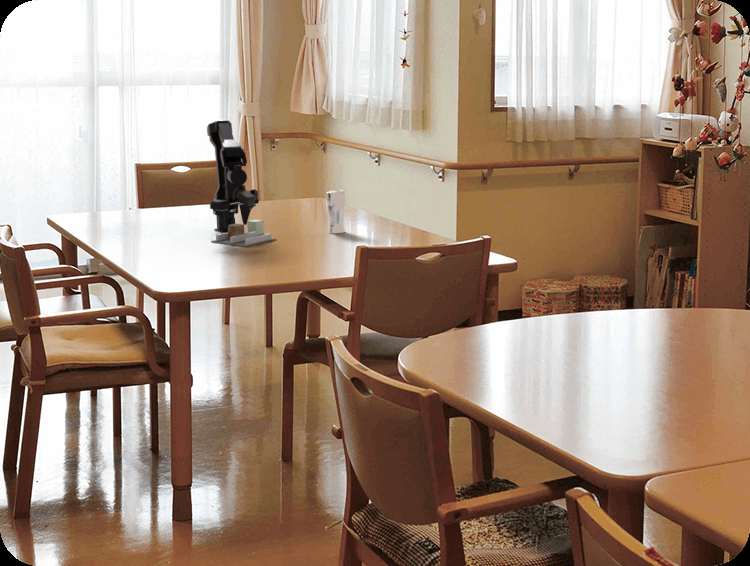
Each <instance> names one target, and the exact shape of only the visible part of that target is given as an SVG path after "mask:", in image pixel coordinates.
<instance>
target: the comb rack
mask: <svg viewBox="0 0 750 566" xmlns="http://www.w3.org/2000/svg"><path fill="white" fill-rule="evenodd" d="M244 233H245V232H244ZM274 241H277V238H274V237H273V238H272V233H265V234H261V235H256V232H250V233H248V232H246V233H245V234H241V235H237V236H232V237H230V239H228V232H223V233H219V234H215V239H214V240H210V243H214V244H221V245H229V246H235V247H236V246H237V247H240V248H249V247H253V246H258V245H261V244H265V243H266V244H267V243H270V242H274Z"/></svg>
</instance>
